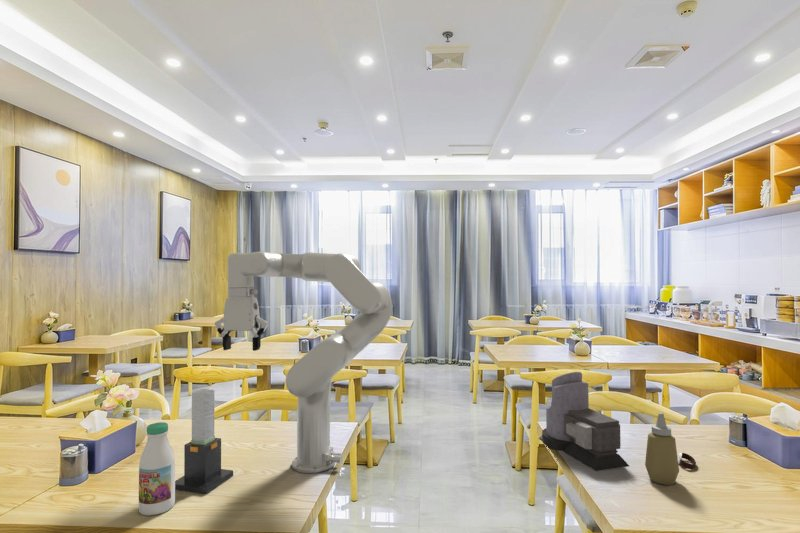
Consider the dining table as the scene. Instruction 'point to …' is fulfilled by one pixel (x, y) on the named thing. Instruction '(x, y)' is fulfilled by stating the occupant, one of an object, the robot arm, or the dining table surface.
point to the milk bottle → (157, 472)
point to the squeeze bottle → (661, 454)
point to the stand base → (202, 468)
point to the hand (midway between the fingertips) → (241, 349)
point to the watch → (688, 457)
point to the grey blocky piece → (581, 426)
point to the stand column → (202, 417)
